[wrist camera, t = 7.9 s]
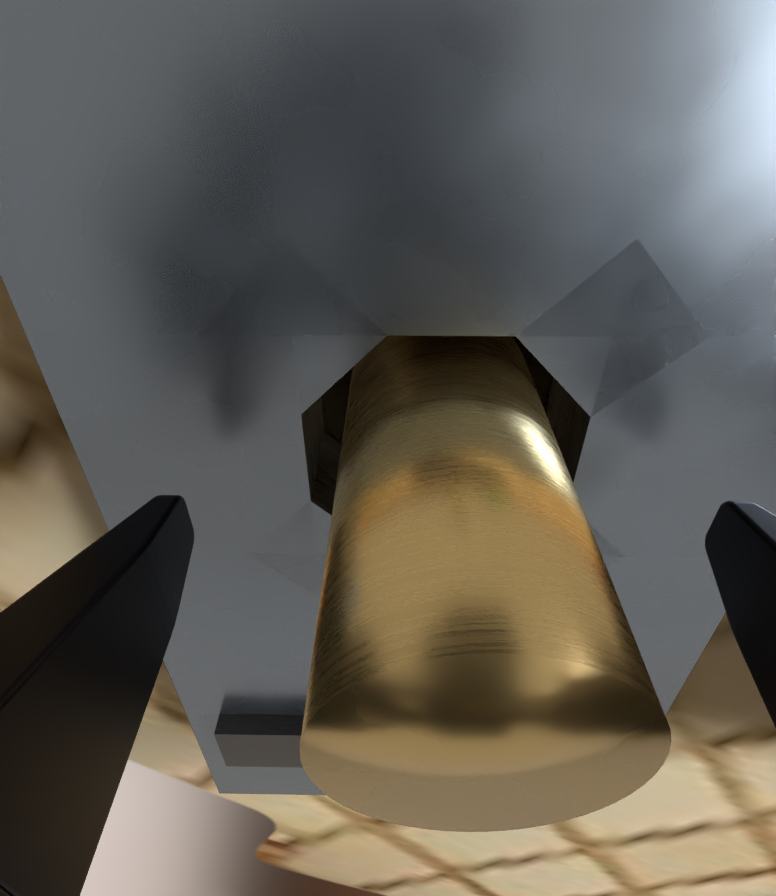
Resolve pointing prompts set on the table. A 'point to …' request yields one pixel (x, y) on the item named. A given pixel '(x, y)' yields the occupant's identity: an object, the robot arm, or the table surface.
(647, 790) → the table surface
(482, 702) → the cylinder
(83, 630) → the robot arm
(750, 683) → the table surface
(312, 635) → the jig
